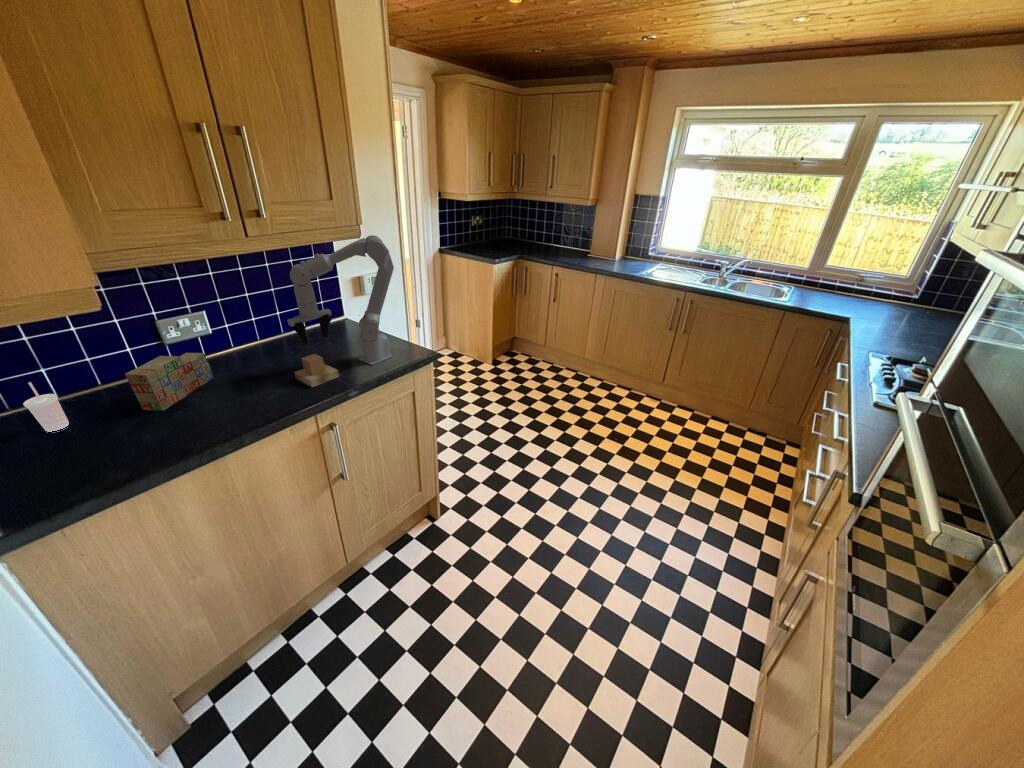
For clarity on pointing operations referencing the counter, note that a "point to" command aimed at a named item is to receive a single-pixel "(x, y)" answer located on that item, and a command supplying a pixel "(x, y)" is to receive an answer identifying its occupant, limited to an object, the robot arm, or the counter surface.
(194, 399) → the counter surface
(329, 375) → the oak block
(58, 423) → the beverage cup
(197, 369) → the stack of blocks
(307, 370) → the brown cube
